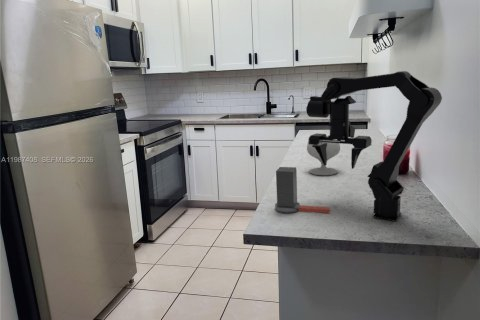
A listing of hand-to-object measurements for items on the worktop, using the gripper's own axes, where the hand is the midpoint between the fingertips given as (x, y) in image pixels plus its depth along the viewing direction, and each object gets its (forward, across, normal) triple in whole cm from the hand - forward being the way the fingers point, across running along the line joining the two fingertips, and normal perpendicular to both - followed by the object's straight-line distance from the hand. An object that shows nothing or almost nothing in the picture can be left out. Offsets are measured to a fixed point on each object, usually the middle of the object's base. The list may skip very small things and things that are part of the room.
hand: (338, 166), depth 117 cm
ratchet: (+13, +8, +10) cm, 18 cm away
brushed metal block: (+12, +13, +11) cm, 21 cm away
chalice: (+13, +21, -35) cm, 43 cm away
